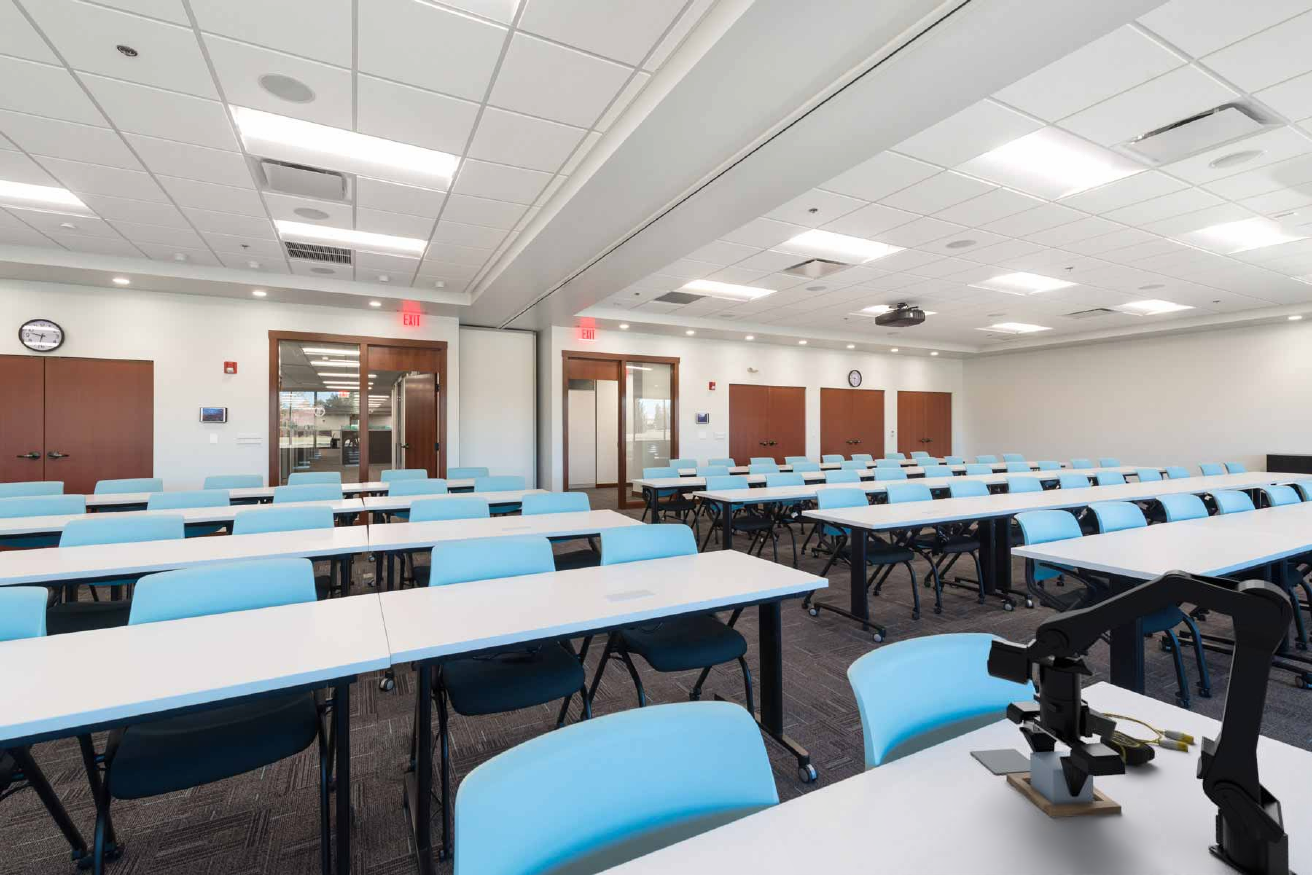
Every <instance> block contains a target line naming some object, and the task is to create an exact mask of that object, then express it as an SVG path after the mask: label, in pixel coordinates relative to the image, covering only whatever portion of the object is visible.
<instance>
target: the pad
mask: <svg viewBox="0 0 1312 875" xmlns="http://www.w3.org/2000/svg"><path fill="white" fill-rule="evenodd" d="M969 754H971V755H972V756H973V757H974V758H975V759H977V761H979V762H980V763H981V764H982V765H984V766H985V767H986V769H988V770H989V771H991V772H992V773H993V774H994V775H996V776H997V775H1007V774H1011V773H1026V772H1030V758H1028V757H1026V756H1025V755H1023V754H1022V753H1021V752H1020V751H1018V750H1017V749H1016V748H1006V749H1003V748H1002V749H987V750H971V751H970V752H969Z"/></svg>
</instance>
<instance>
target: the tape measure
mask: <svg viewBox="0 0 1312 875" xmlns="http://www.w3.org/2000/svg"><path fill="white" fill-rule="evenodd" d="M1099 737H1100V738H1099V743H1102V744H1104V745H1105V746H1107V747H1109V748H1110V749H1112V750H1113V751H1115V752H1117V753H1118V754H1120V755H1121V756H1122V757H1123V758H1124V759H1125V764H1129V765H1136V766H1144V765H1145V764H1147V762H1151V761H1153V760H1154V759H1155V757H1156V750H1155V749H1154V747H1153V746H1151V745H1149V744H1148V743H1144V742H1143V741H1140V740H1138V739H1139V738H1135V737H1133V736H1130V735H1128V734H1126V733H1123V732H1121V731H1118V730H1116V729H1115V731H1114V734H1113V737H1112V740H1107V739H1106V738H1105V737H1102V736H1099Z"/></svg>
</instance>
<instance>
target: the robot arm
mask: <svg viewBox="0 0 1312 875" xmlns="http://www.w3.org/2000/svg"><path fill="white" fill-rule="evenodd" d="M1179 602H1182V603H1187V604H1190V605H1193V606H1196V607H1198V608H1199V607H1200V608H1202V609H1205V610H1208V611H1211V612H1214V613H1217V614H1221V615H1223V616H1228V617H1231V618H1232V627H1233V628H1232V629H1233V637H1234V638H1233V639H1234V646H1233V647H1234V648H1233V652H1232V659H1231V665H1230V672H1229V679H1228V685H1227V689H1226V696H1225V702H1224V710H1223V713H1222V714H1223V715H1222V720H1221V726H1220V731H1219V733H1218V734H1217V736H1216V738H1215V740H1212V739H1210V738H1208V737H1206V736H1204V735H1202V736H1201V744H1200V746H1201V747H1200V756H1199V757H1198V758H1197V764H1196V765H1197V768H1196V777H1195V778H1196V779H1197V780H1202V784H1201V786H1202V791H1203V793H1204V795H1205V796H1206V797H1207V799H1209V800H1210V801H1211V802H1212V803H1213V804H1214V805H1215V806H1217V814H1216V815H1215V816H1214V819H1215V820H1214V821H1215V843H1216V844H1213V845H1208V851H1209V852H1211V853H1212V854H1214V855H1215V856H1217V857H1218V858H1219V859H1221V860H1222V861H1225V863H1227V864H1228V865H1229V866H1231V867H1233V868H1234V869H1236V870H1237V871H1238V872H1240V873H1242V874H1243V875H1298V874H1297V873H1296V872H1294V871H1293V870H1291V869H1290V867H1289V866H1290V865H1289V864H1290V862H1289V853H1290V852H1289V834H1288V833H1286V831H1285V827H1284V826H1285V825H1284V824H1285V823H1284V818H1283V810H1282V805H1281V801H1280V800H1279V799H1278V798H1277V797H1276V796H1274V794H1272V792H1270V791H1269V790H1268V789H1267V788H1266V787H1265V786H1264V785H1263V784H1262V783H1261V782H1260V776H1259V775H1260V774H1259V763H1258V753H1257V750H1258V746H1259V745H1258V744H1259V739H1260V738H1259V737H1260V733H1261V727H1262V720H1263V714H1264V710H1265V709H1264V708H1265V702H1266V697H1267V692H1268V685H1269V680H1270V679H1269V678H1270V674H1271V669H1272V662H1273V657H1274V655H1275V653H1276V651H1277V650H1278V649H1279V647H1280V645H1281V644H1282V641H1283V640H1284V639H1285V636H1286V634H1287V632H1288V631H1289V630H1288V629H1289V628H1290V626H1291V623H1292V622H1293V619H1294V609H1293V606H1292V603H1291V601H1290V598H1289V596H1288V594H1287V593H1286V592H1285V591H1284V590H1283V589H1282V588H1281V587H1280V586H1278V585H1276V584H1274V583H1272V582H1270V581H1266V580H1262V579H1261V580H1260V579H1250V580H1249V579H1248V580H1243V581H1239V580H1234V579H1230V578H1223V577H1218V576H1217V577H1216V576H1210V575H1204V574H1203V575H1202V574H1198V573H1197V574H1196V573H1194V572H1188V571H1185V570H1181V569H1171V570H1168V571H1165V572H1164V573H1163V574H1162V575H1161V576H1158V577H1155V578H1154V579H1152V580H1149V581H1147V582H1145V583H1142V584H1139V585H1137V586H1136V587H1134V588H1131V589H1129V590H1127V591H1125V592H1122V593H1120V594H1118V595H1115V596H1113V597H1110V598H1109V599H1107V600H1104V601H1101V602H1100V603H1097V604H1095V605H1093V606H1091V607H1085V608H1082V609H1074V610H1069V611H1064V612H1060V613H1057V614H1053V615H1050V616H1048V617H1047V618H1046V619H1045V620H1044V621H1042V623H1041V624H1040V625H1039V626H1037V628H1036V631H1035V638H1033V639H1031V640H1030V642H1028V644H1022V643H1019V642H1013V641H1009V640H1006V639H1004V638H1000V637H994V638H993V639H991V641H990V642H991V645H990V646H991V647H990V649H989V653H988V659H987V661H986V666H987V667H986V668H987V673H988V675H989V676H990V677H993V678H997V679H1000V680H1005V681H1008V682H1012V683H1016V684H1020V685H1024V686H1027V685H1028V684H1029V683H1030V681H1033V682H1035V681H1036V680H1037V675H1039V676H1038V677H1039V678H1038V679H1039V686H1038V687H1039V689H1038V690H1039V693H1032V696H1033V700H1034V701H1032V700H1031V701H1015V702H1014V701H1013V702H1010V703H1009V704H1008V705H1007V706H1006V711H1005V712H1006V713H1005V714H1006V716H1005V717H1006V719H1008V720H1009V721H1011V722H1012V723H1013V724H1015V725H1021V724H1022V726H1020V727H1018V730H1019V732H1021V733H1022V734H1023V736H1024V738H1025V740H1026V742H1027V744H1028V746H1029V747H1030V749H1031V752H1032V753H1034V752H1050V751H1056V749H1055V748H1056V746H1055V744H1056V743H1057V742H1059V743H1060V744H1062V745H1064V746H1067V747H1069V749H1070V750H1069V751H1070V756H1062V757H1060V761H1061V764H1062V768H1063V772H1064V775H1065V779H1066V783H1067V787H1068V790H1069V792H1070V795H1071V796H1072V797H1078V796H1079V794H1080V792H1081V790H1082V788H1083V786H1084V784H1085V782H1086V780H1087V778H1088V776H1089V775H1092V776H1093V777H1105V776H1107V777H1108V776H1120V775H1121V776H1122V775H1126V774H1127V772H1126V771H1127V770H1126V763H1125V759H1124V758H1123V757H1122V756H1121V755H1120V754H1118V753H1117V752H1115V751H1113V750H1112V749H1110V748H1109V747H1107V746H1105V745H1104V744H1102V743H1100V742H1091V743H1087V742H1085V741H1084V740H1082V737H1084V738H1086V739H1088V738H1090V739H1091V738H1093V737H1094V736H1093V735H1096V736H1099V737H1101V736H1102V737H1105V738H1106V739H1107V740H1112V737H1113V734H1114V731H1115V730H1116V728H1117V727H1116V726H1117V723H1118V722H1117V721H1116V720H1114V719H1112V718H1110V717H1109V716H1105V715H1103V714H1101V713H1102V712H1100V711H1097V710H1095V709H1093V708H1091V707H1089V703H1088V701H1087V700H1085V699H1083V698H1082V676H1088V677H1092V676H1093V675H1094V673H1095V672H1096V671H1097V667H1096V666H1095V665H1094V664H1092V663H1091V662H1090V661H1089V660H1088V659H1087V657H1086V656H1085V655H1082V654H1081V655H1080V657H1077V658H1073V657H1071V656H1073V655H1074V654H1075V653H1077V652H1078V651H1080V650H1082V649H1083V648H1085V647H1087V645H1088V644H1090V643H1091V642H1093V641H1094V640H1095V639H1096V638H1098V637H1100V636H1101V635H1102V634H1104V633H1105V632H1108V631H1111V630H1113V629H1116V628H1118V627H1121V626H1123V625H1126V624H1128V623H1131V622H1133V621H1135V620H1138V619H1140V618H1143V617H1145V616H1148V615H1149V614H1152V613H1155V612H1156V611H1159V610H1162V609H1165V608H1166V607H1169V606H1172V605H1174V604H1176V603H1179ZM1051 656H1052V657H1051ZM1038 666H1039V667H1038ZM1038 670H1039V671H1038ZM1038 673H1039V674H1038ZM1038 703H1039V704H1038Z"/></svg>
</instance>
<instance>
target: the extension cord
mask: <svg viewBox="0 0 1312 875" xmlns="http://www.w3.org/2000/svg"><path fill="white" fill-rule="evenodd" d="M1100 713H1101V714H1103V715H1105V716H1107V717H1112V716H1114V717H1113V718H1120V719H1123V718H1124V719H1125V720H1127V721H1134V722H1137V723H1139V724H1142V725H1144V726H1147V728H1149V729H1150V730H1152V731H1153V732H1154V733H1156V734H1157V735H1158V737H1157V738H1155V739H1153V740H1149V739H1142V738H1141V739H1140V738H1137V739H1138V740H1140V741H1142V742H1144V743H1146V744H1148V743H1151V744H1158V745H1159V747H1163V748H1168V749H1170V750H1171V749H1173V750H1179V751H1185V752H1188V751H1189V746H1188V744H1190V745H1194V742H1195V741H1194V740H1195V738H1194V736H1192V735H1189V734H1187V733H1184V732H1181V731H1179V730H1178V731H1177V730H1172V729H1171V730H1169V729H1165V730H1164V731H1163V730H1159V729H1156V728H1154V727H1152V726H1151V725H1149V724H1148V723H1145V722H1143V721H1141V720H1139V719H1135V718H1132V717H1128V716H1124V715H1119V714H1114V713H1107V712H1106V713H1105V712H1100ZM1161 733H1162V734H1164V735H1165V737H1168V738H1170V739H1162V734H1161Z"/></svg>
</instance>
